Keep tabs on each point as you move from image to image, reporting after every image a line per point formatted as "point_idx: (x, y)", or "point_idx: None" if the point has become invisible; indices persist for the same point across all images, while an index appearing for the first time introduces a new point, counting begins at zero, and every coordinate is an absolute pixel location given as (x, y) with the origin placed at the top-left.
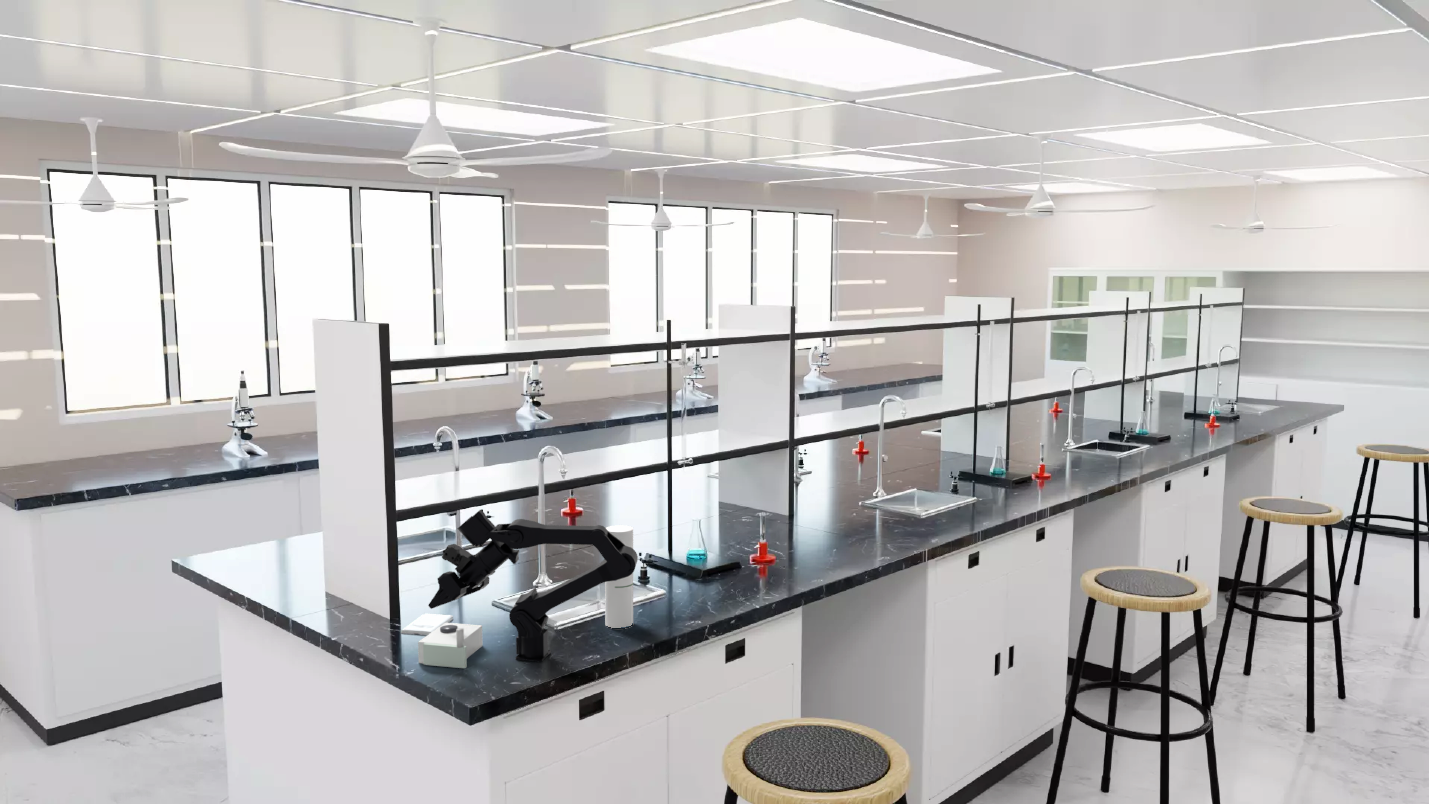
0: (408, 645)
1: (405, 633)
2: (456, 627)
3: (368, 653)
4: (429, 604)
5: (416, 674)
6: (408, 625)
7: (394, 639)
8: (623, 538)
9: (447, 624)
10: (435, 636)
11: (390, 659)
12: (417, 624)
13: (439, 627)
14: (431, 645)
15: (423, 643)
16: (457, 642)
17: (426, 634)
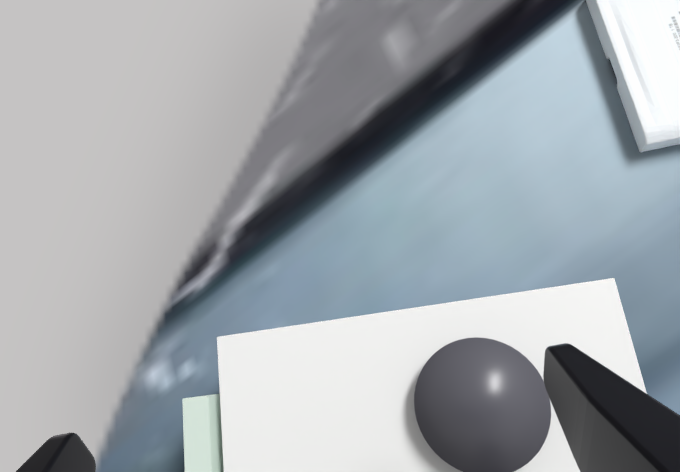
0: (452, 144)
1: (593, 19)
2: (509, 464)
3: (299, 62)
4: (37, 457)
5: (147, 419)
6: None
7: (494, 33)
8: None
9: (584, 318)
10: (333, 385)
11: (268, 191)
12: None
13: (499, 302)
14: (185, 459)
15: (223, 373)
16: None
17: (630, 122)
